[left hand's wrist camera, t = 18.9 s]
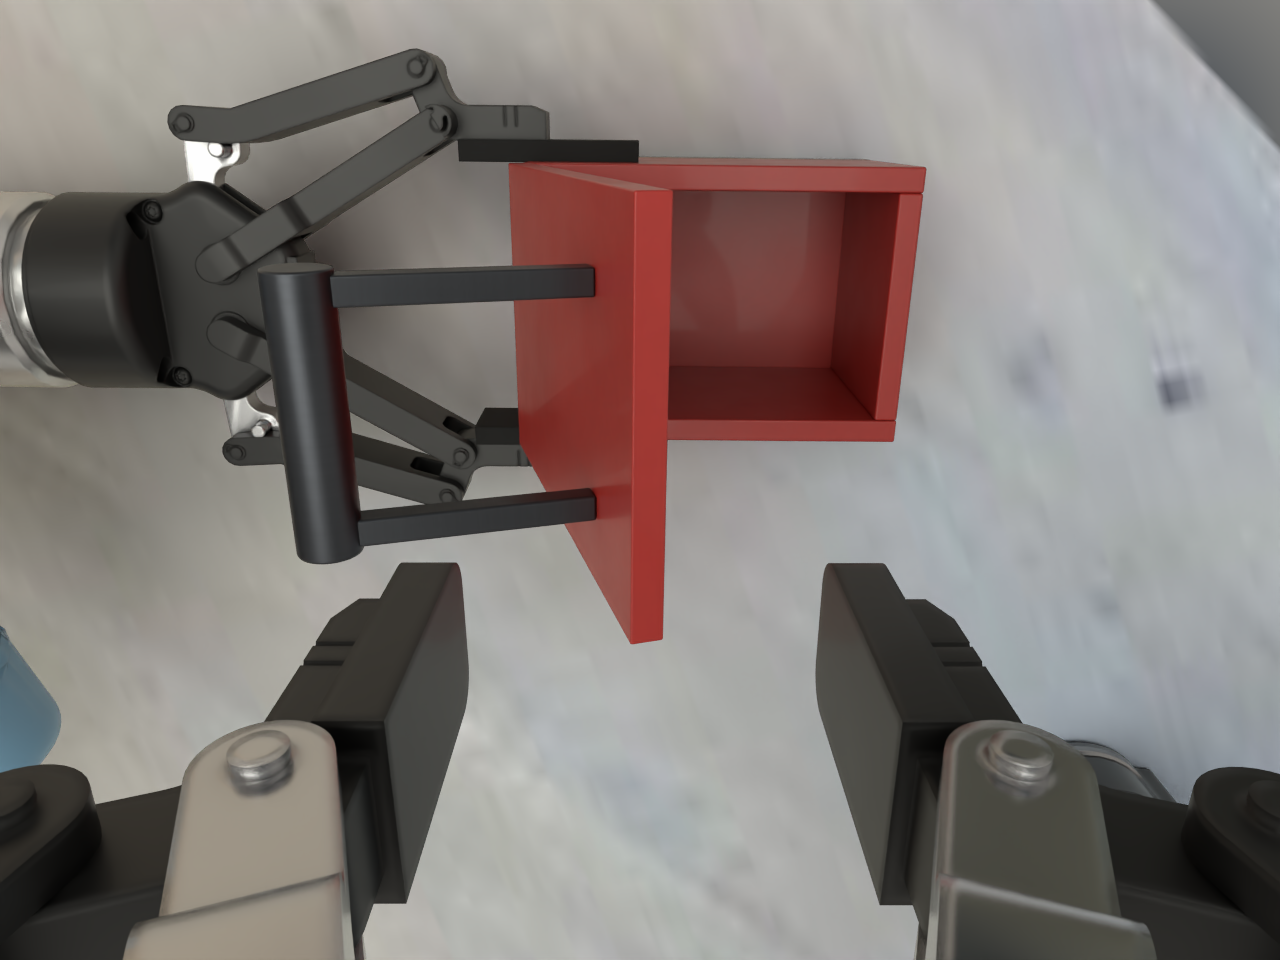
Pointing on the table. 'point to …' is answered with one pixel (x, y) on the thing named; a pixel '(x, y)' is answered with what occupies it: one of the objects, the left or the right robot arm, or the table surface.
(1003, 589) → the table surface
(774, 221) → the chest
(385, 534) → the lid
